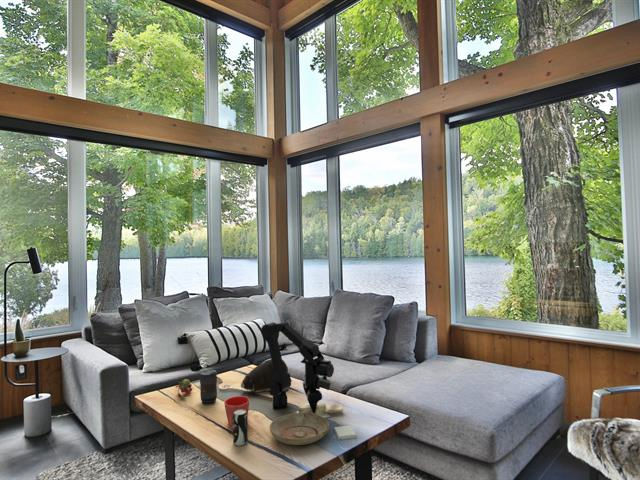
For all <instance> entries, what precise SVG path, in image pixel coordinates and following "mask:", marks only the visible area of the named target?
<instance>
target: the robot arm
mask: <svg viewBox="0 0 640 480" xmlns="http://www.w3.org/2000/svg"><path fill="white" fill-rule="evenodd" d="M260 332H261V335H262V337H263V339H264V340H265V342H266V343H267V344H268V345H267V346H268V351H269V355H270V359H271V360H272V365H273V369H274V377H273V386H272V388H271V389H270V390H268V394H269V395H270V396H272V410H281V409H287V406H288V394H287V392H289V389H290V387H291V386H292V381H293V380H292V378H291V373H290V372H288V374H287V373H286V372H285V370H284V366H283V362H282V360H283V357H282V353H281V347H280V345H279V337H280V332H281V334H283V335H284V337H286V338H287V339H288V340H289V341H290V342H292V344H294V345H295V346H296V347H297V349H298V351H299V353H300V355H301V356H302V357H303V359H302V360H301V361H300V363H301V364H304V373H305V374H304V380H303V381H302V389H303V391H304V393H305V395H306V399H307V402H308V404H309V405H310V407H311V410H312V412H313V413H315V412H316V407H317V404H319V401H321V400H322V399H323V394H322V391H321V390H320V389H321V388H322V389H325V390H327V391H329V390H330V388H331V384H332V382H331V381H330V380H329V379H328V378H332V376H333V375H334V372H335V367H334V365H333V363H332V360H325V357H324V355H323V354H322V352H321V350H320V347H319V346H318V345H317V344H315V343H314V342H312V341H310V340H308V339H305V338H304V337H303V336H302V335H301V334H300V333H299V332H297V330H295V329H294V328H293V326H291V325H290V324H289V322H286V321H284V322H280V323H277V322H269V323H265V324H263V325H262V327H261V329H260Z"/></svg>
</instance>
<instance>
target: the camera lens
mask: <svg viewBox="0 0 640 480" xmlns="http://www.w3.org/2000/svg"><path fill="white" fill-rule="evenodd" d="M217 375H218V373H217V370H215V369H206V370H202V371H201V372H200V373H199V385H200V387H199V388H200V389H199V390H200V395H199V396H200V401H201V404H202V405H206V406H207V405H208V406H210V405H213V404H215V403H216V402H217V397H218V390H217V389H218V388H217V387H218V385H217V383H218V380H217V379H218V376H217Z"/></svg>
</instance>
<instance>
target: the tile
mask: <svg viewBox="0 0 640 480" xmlns="http://www.w3.org/2000/svg"><path fill="white" fill-rule="evenodd" d="M333 431H334V433H335V434H336V436H337V439H338V440H339V439H341V440H349V439H357V434H356V432H355V429H354V428H353V427H352V425H342V426H335V427H334V428H333ZM348 438H349V439H348Z"/></svg>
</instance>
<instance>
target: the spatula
mask: <svg viewBox="0 0 640 480" xmlns="http://www.w3.org/2000/svg"><path fill="white" fill-rule="evenodd" d="M298 411H299V413H309V414H315V415H318V414H326V412H328V413H331V412H339V411H341V412H342V411H344V407H342V405H341V403H334V404H326V403H317V407H316V412H315V413H313V412H312V410H311V407H310V405H299V406H298Z"/></svg>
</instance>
